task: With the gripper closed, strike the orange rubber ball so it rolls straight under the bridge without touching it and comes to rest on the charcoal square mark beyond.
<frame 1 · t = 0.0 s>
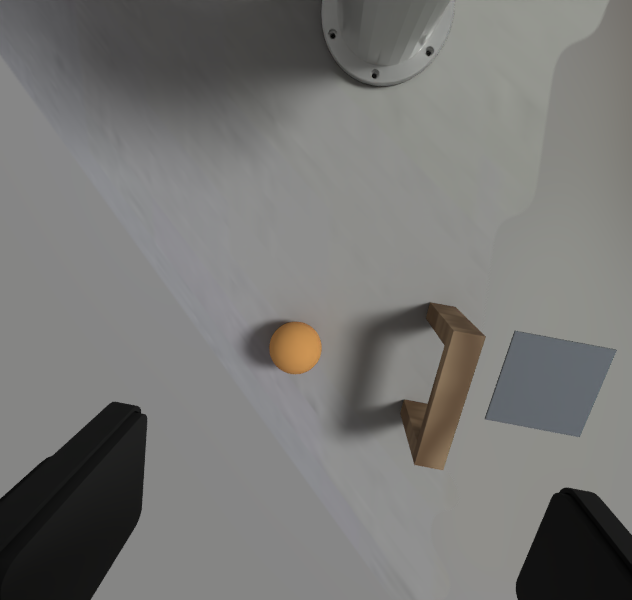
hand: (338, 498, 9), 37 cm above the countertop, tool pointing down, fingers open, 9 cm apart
bridge: (426, 362, 47), on the countertop
ball: (295, 347, 44), on the countertop
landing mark: (547, 385, 47), on the countertop
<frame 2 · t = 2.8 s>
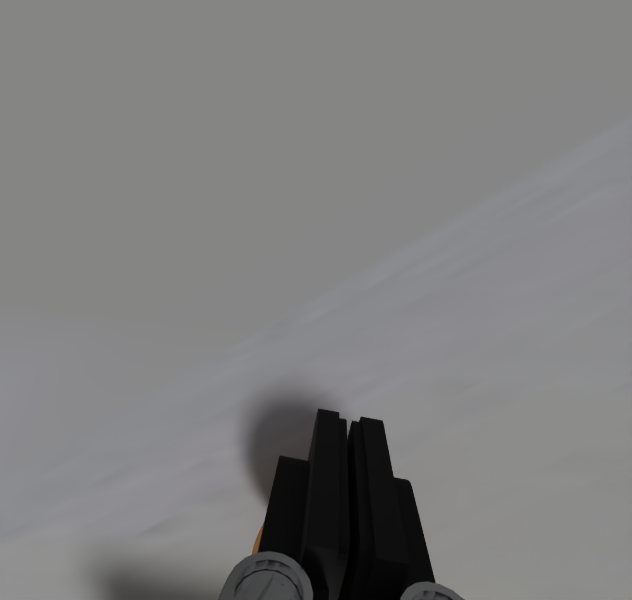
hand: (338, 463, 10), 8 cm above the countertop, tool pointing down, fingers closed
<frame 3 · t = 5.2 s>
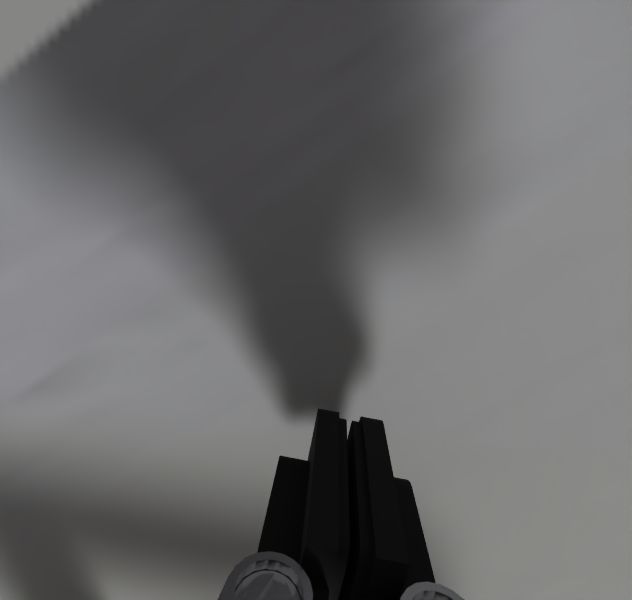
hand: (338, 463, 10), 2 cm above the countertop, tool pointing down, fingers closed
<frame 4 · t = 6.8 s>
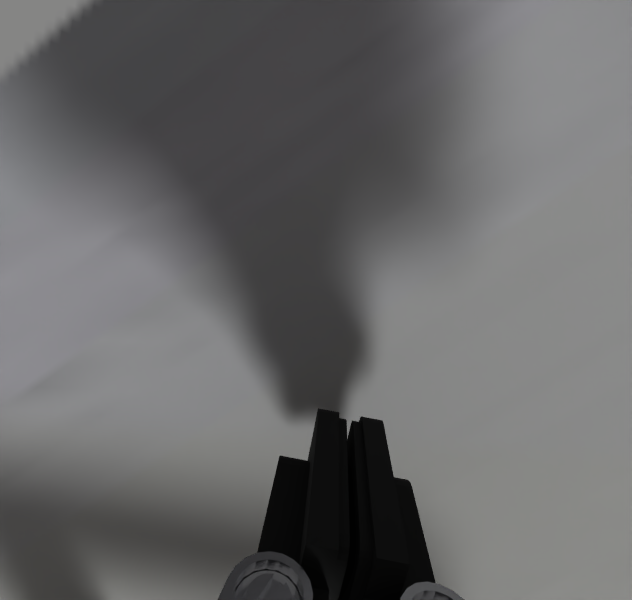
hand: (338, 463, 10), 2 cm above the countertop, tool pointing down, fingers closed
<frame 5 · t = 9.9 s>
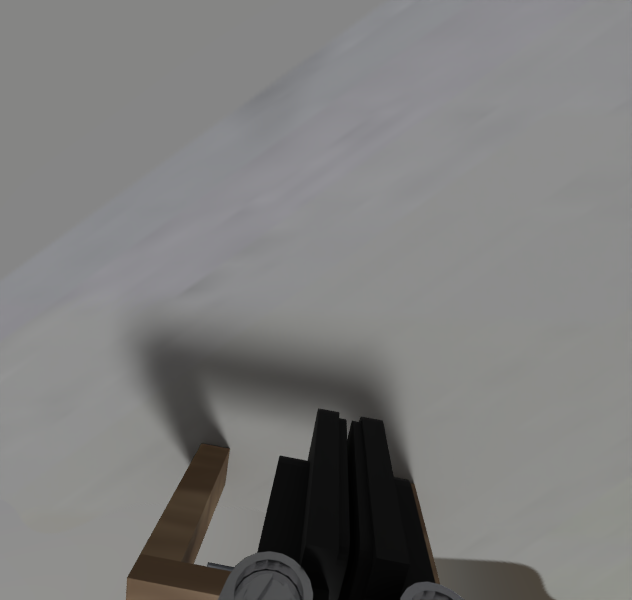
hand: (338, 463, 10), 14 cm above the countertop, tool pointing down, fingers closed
bridge: (304, 481, 27), on the countertop
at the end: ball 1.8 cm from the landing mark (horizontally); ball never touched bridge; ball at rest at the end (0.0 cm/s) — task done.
